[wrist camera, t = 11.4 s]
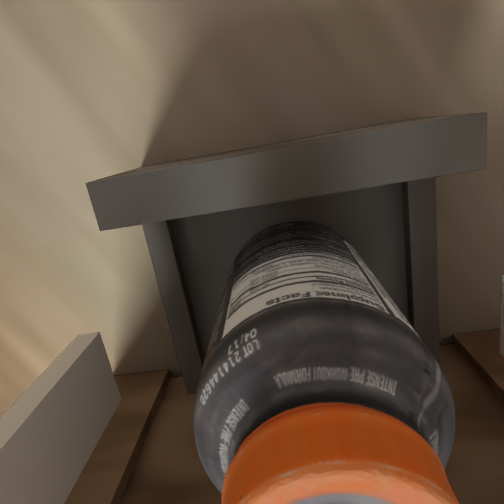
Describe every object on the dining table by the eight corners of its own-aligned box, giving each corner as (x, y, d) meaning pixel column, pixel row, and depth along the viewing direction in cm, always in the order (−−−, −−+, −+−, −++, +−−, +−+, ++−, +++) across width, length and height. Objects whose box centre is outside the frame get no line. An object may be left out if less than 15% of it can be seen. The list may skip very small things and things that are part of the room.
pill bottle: (320, 363, 18) (399, 730, 7) (206, 310, 17) (97, 619, 6) (391, 257, 16) (646, 526, 5) (266, 193, 15) (257, 345, 5)
